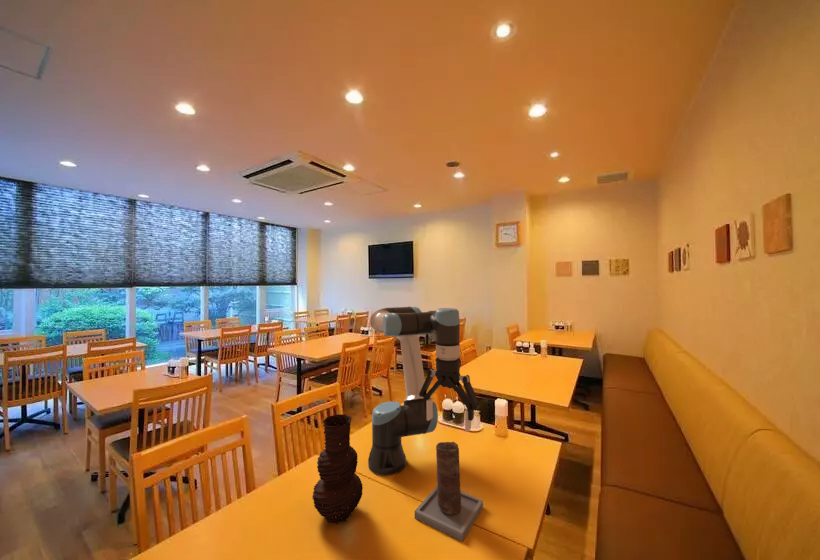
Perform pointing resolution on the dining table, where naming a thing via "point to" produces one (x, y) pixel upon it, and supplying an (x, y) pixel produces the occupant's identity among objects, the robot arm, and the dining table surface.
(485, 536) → the dining table surface
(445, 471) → the brown cylinder
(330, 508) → the vase
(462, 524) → the tray
